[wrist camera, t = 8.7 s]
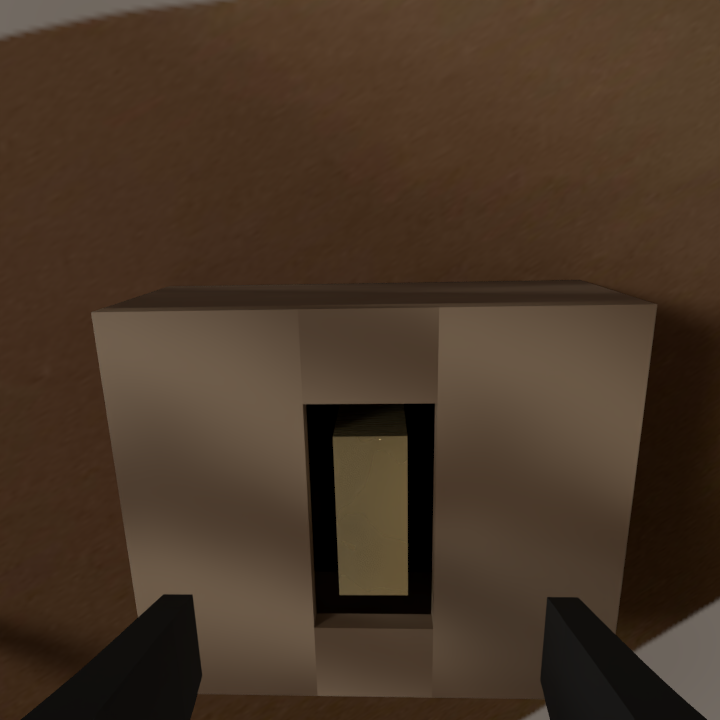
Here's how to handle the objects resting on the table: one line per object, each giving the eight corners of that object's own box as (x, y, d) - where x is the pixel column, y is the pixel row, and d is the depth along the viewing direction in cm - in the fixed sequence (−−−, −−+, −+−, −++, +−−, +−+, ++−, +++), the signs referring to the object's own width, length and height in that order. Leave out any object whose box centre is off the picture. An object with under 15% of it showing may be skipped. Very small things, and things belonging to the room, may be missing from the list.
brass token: (401, 505, 20) (408, 594, 15) (349, 505, 20) (339, 595, 16) (400, 380, 19) (407, 436, 14) (344, 380, 19) (332, 437, 14)
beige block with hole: (553, 586, 21) (607, 700, 16) (202, 583, 21) (149, 693, 17) (580, 280, 18) (657, 304, 13) (168, 286, 18) (91, 312, 13)
